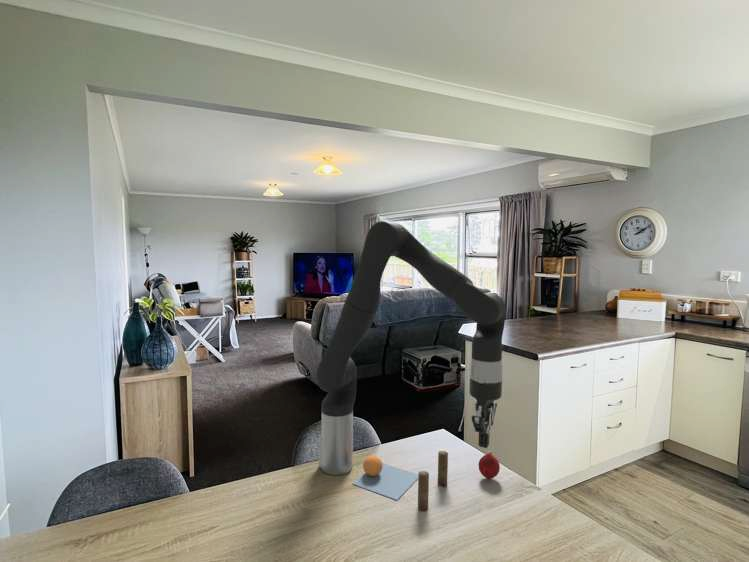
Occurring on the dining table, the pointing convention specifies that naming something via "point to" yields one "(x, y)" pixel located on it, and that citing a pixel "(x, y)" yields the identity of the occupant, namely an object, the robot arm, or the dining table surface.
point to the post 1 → (423, 490)
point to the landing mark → (388, 481)
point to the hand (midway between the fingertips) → (483, 446)
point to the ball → (372, 465)
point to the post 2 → (442, 468)
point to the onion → (489, 466)
